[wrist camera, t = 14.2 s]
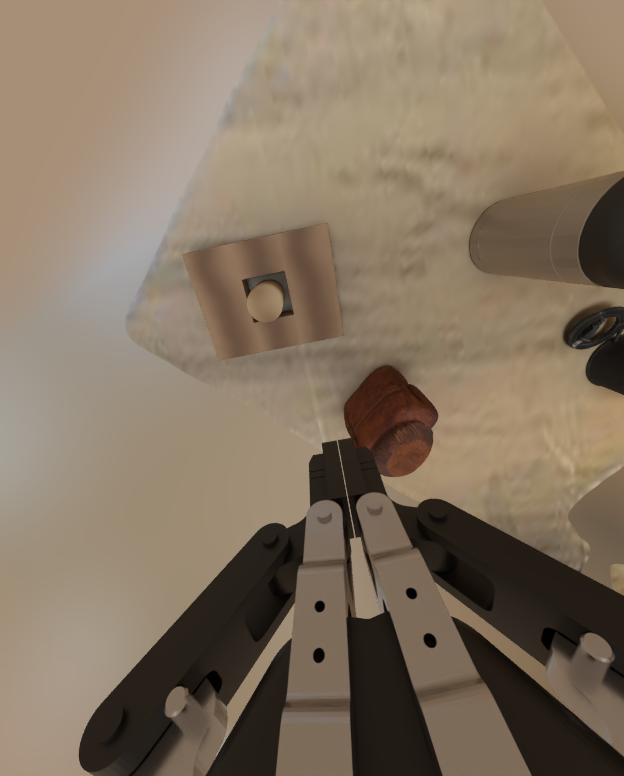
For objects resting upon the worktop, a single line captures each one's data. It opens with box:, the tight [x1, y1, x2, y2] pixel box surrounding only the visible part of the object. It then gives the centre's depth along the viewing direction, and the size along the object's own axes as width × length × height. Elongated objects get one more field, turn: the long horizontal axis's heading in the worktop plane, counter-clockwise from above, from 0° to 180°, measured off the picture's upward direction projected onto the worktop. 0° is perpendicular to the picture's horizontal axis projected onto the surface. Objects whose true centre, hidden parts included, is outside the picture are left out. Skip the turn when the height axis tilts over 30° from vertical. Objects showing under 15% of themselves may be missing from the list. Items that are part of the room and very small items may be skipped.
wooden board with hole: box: [182, 223, 344, 360], centre depth 40 cm, size 18×14×4 cm
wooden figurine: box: [344, 366, 438, 477], centre depth 41 cm, size 12×6×18 cm, turn 142°
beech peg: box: [247, 280, 285, 322], centre depth 37 cm, size 4×4×10 cm
